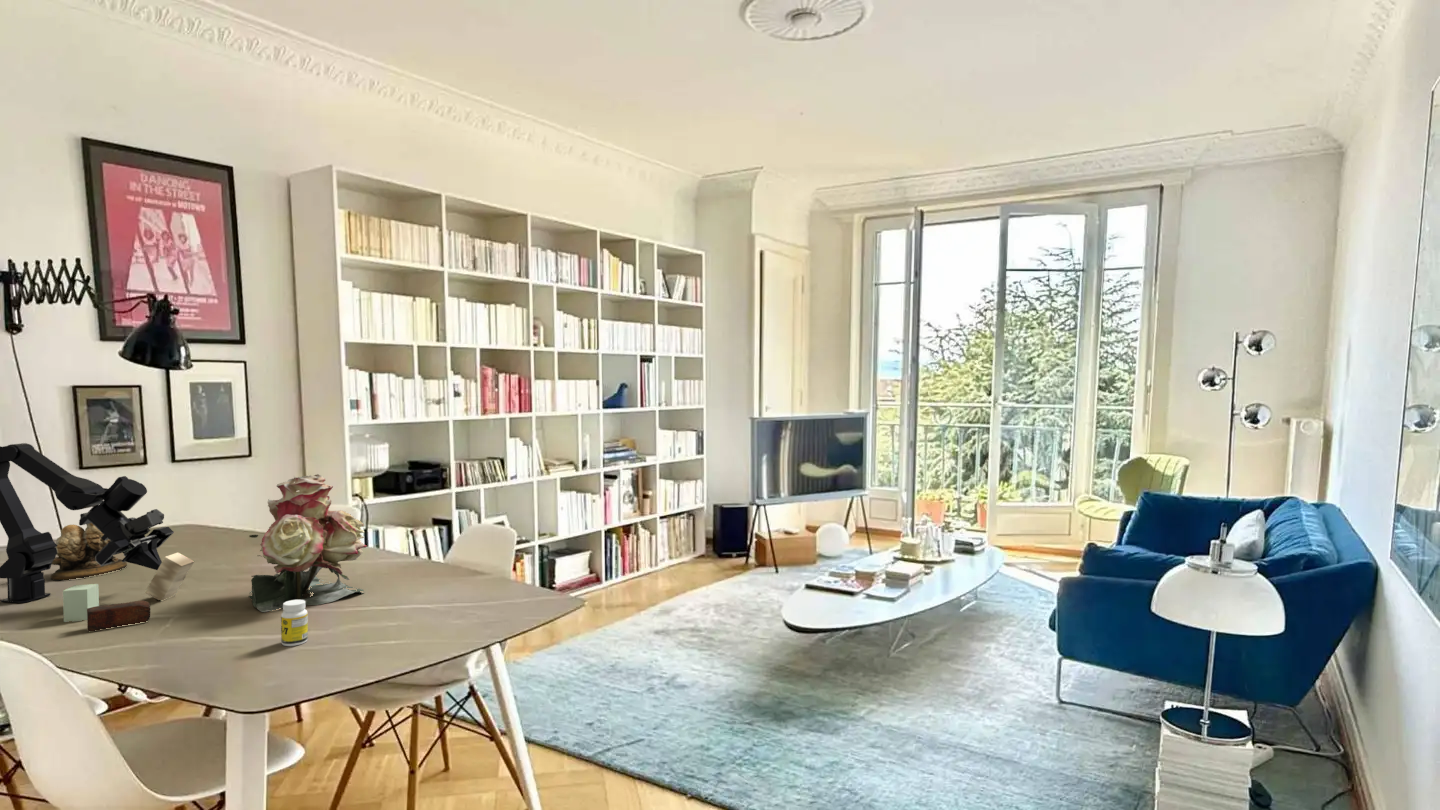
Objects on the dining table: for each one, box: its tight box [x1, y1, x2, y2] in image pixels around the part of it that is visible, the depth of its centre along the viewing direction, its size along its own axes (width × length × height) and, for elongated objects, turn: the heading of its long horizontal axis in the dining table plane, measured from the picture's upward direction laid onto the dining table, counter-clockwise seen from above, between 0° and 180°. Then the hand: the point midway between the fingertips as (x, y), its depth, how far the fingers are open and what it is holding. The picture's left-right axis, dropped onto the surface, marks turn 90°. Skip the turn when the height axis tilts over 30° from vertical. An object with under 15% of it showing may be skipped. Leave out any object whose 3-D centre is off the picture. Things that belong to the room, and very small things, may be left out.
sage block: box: [62, 583, 100, 623], centre depth 166 cm, size 4×4×7 cm
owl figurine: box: [50, 523, 128, 581], centre depth 204 cm, size 18×12×17 cm, turn 162°
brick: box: [86, 599, 151, 633], centre depth 162 cm, size 11×4×5 cm, turn 132°
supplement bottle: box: [280, 599, 309, 647], centre depth 152 cm, size 5×5×8 cm
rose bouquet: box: [248, 473, 368, 613], centre depth 185 cm, size 26×29×30 cm
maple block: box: [144, 552, 195, 601], centre depth 181 cm, size 4×4×10 cm
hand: (161, 569), depth 180 cm, fingers closed
